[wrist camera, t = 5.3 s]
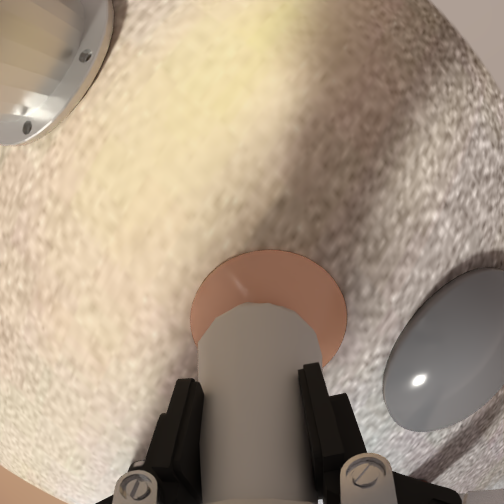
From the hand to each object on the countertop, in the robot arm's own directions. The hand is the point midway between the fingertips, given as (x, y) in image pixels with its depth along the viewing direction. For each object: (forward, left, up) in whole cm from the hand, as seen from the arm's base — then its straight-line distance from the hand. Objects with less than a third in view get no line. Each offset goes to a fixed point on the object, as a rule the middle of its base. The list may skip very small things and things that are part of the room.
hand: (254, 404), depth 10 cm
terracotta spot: (+1, +1, -7) cm, 7 cm away
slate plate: (+7, +15, -7) cm, 18 cm away
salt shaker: (+1, 0, -6) cm, 6 cm away
